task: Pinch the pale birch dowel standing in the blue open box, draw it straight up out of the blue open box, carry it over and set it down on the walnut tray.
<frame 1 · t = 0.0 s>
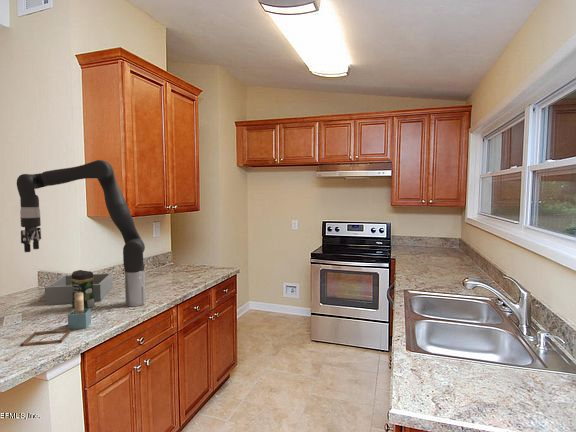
hand: (32, 250, 162), 29 cm above the worktop, fingers open, 8 cm apart
blue open box: (80, 327, 144), on the worktop
coffee jar: (83, 307, 170), on the worktop
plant: (81, 296, 188), resting in grey open bin
grey open bin: (81, 295, 188), on the worktop
dowel: (80, 325, 144), point 1 cm above the worktop, touching blue open box
tray: (47, 340, 132), on the worktop
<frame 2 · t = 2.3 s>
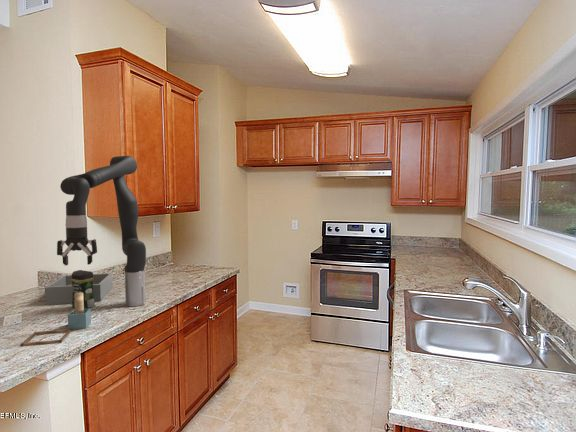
hand: (77, 264, 142), 27 cm above the worktop, fingers open, 8 cm apart
nothing on the worktop moved.
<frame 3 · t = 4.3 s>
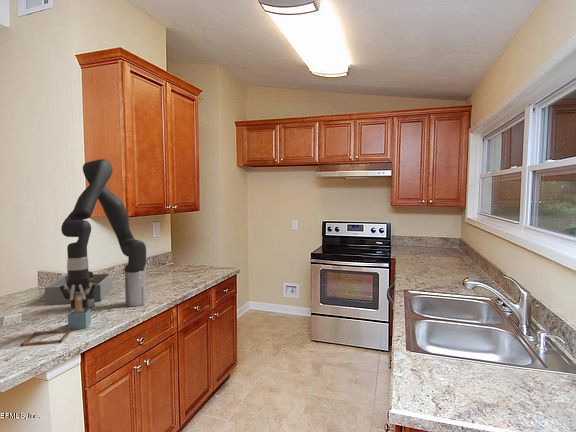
hand: (79, 307, 144), 9 cm above the worktop, fingers closed on dowel, 3 cm apart
dowel: (80, 325, 144), point 1 cm above the worktop, touching blue open box, gripper
everything else where it was.
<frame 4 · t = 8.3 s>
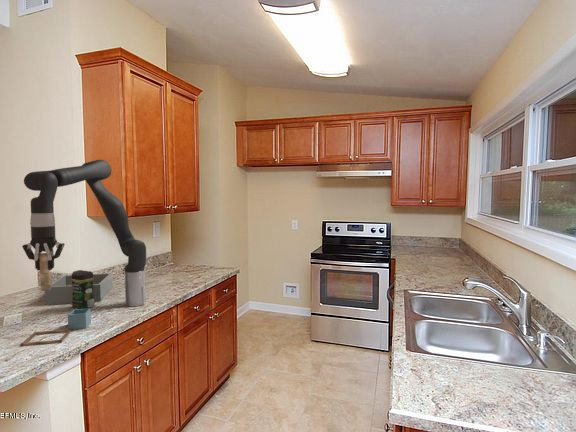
hand: (44, 269, 130), 28 cm above the worktop, fingers closed on dowel, 3 cm apart
dowel: (45, 289, 131), point 20 cm above the worktop, touching gripper
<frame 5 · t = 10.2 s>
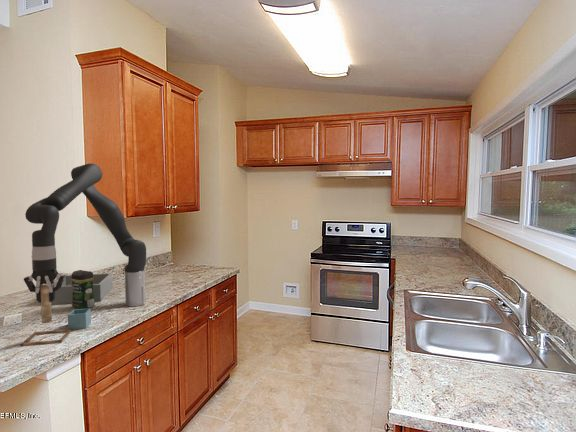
hand: (45, 301, 131), 15 cm above the worktop, fingers closed on dowel, 3 cm apart
dowel: (46, 321, 132), point 7 cm above the worktop, touching gripper
when the fingers open (9 cm above the worktop, at t = 11.8 s): dowel stays where it is, resting on tray.
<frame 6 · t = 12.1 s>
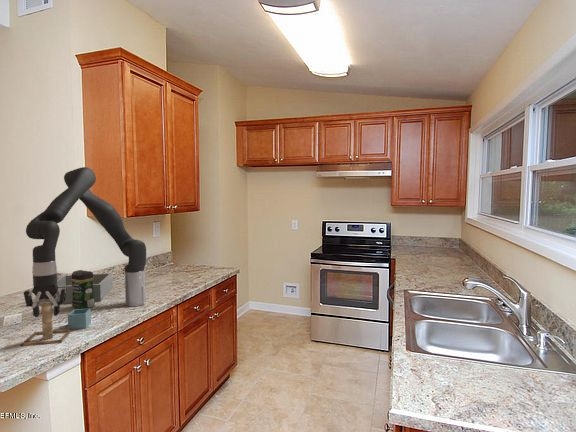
hand: (46, 315, 132), 10 cm above the worktop, fingers open, 6 cm apart
dowel: (47, 338, 132), point 1 cm above the worktop, touching tray
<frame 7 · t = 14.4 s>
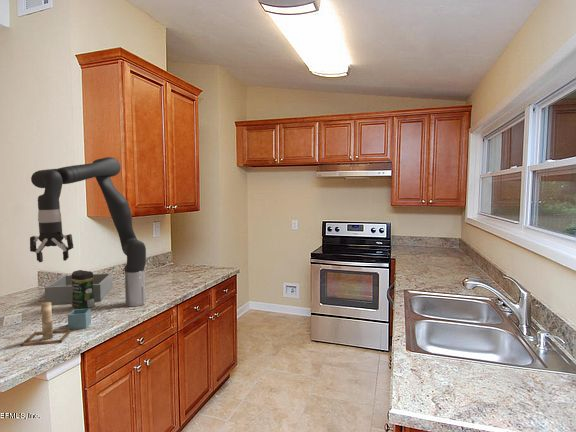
hand: (53, 261, 137), 30 cm above the worktop, fingers open, 8 cm apart
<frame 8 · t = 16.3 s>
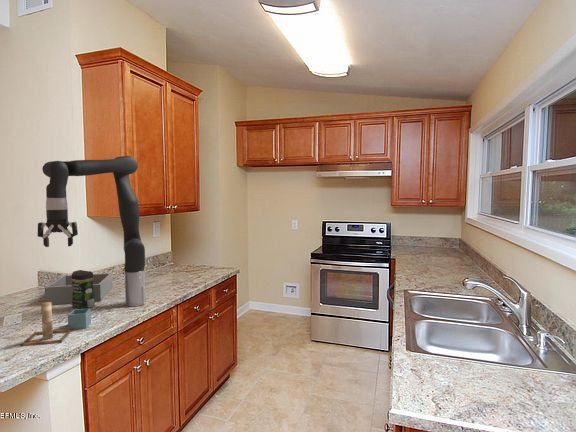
hand: (58, 246, 145), 34 cm above the worktop, fingers open, 8 cm apart
at the end: dowel inside the target area on the tray (0.1 cm from its centre), point 0.6 cm above the tray's base; the gripper is holding nothing; dowel touching tray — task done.
